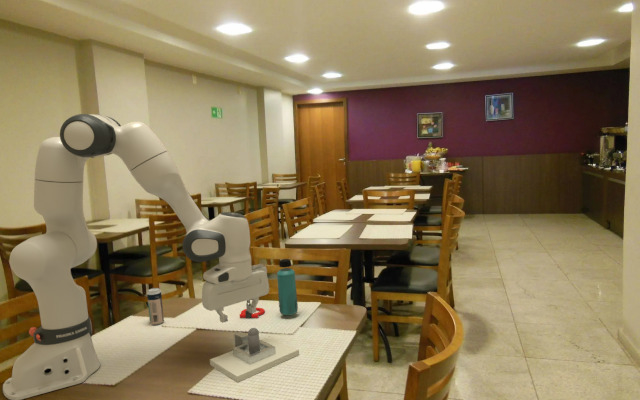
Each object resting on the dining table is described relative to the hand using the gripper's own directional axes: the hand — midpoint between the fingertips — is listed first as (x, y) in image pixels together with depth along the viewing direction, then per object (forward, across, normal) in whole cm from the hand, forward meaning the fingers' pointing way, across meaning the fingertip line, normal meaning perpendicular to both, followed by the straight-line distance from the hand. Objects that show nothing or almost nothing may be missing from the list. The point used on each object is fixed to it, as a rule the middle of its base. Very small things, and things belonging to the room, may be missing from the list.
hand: (238, 317), depth 127 cm
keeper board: (+11, 0, +7) cm, 13 cm away
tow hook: (+11, -21, -24) cm, 34 cm away
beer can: (+12, +6, -43) cm, 45 cm away
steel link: (+9, 0, +5) cm, 10 cm away
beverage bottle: (+11, -28, -12) cm, 32 cm away
